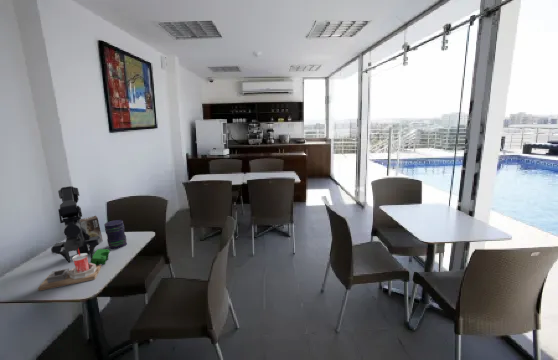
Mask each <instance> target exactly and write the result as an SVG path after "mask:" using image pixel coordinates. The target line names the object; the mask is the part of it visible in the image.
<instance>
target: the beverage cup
mask: <svg viewBox="0 0 558 360" xmlns="http://www.w3.org/2000/svg"><path fill="white" fill-rule="evenodd" d="M78 253H79V254H78V255H77V254H76V255H74V256H73V257H72V261H73V263H74V268H75V267H76V270H77V273H80V272H85V271H87V270H89V266H88V263H89V262H88V261H89V259H88V256H89V255H87V253H82V254H80V252H79V248H78Z"/></svg>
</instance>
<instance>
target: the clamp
mask: <svg viewBox="0 0 558 360" xmlns="http://www.w3.org/2000/svg"><path fill="white" fill-rule="evenodd" d="M110 250H111V249H109V248H108V249H107V248H106V249H102V248H97V250H96V251H94V253H93V258H92V259H91V258H90V263H93V264H96V265H106V264H107V263H106V262H107V261H108V260H109V254H110Z"/></svg>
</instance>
